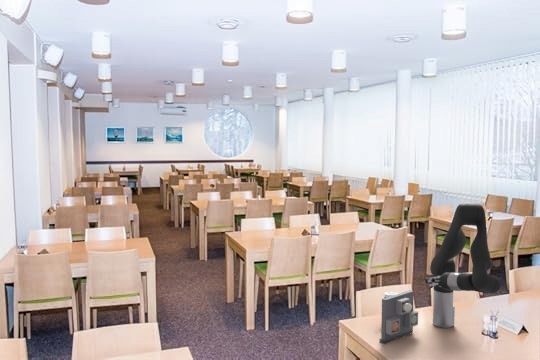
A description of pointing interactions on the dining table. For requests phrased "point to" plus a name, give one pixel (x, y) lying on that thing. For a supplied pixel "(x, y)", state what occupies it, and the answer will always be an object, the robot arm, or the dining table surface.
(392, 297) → the button panel
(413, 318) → the sage button
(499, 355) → the dining table surface
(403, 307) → the cream button
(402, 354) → the dining table surface
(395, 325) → the terracotta button
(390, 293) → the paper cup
